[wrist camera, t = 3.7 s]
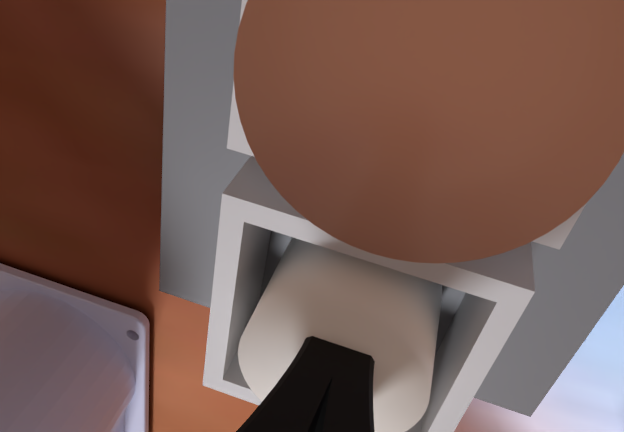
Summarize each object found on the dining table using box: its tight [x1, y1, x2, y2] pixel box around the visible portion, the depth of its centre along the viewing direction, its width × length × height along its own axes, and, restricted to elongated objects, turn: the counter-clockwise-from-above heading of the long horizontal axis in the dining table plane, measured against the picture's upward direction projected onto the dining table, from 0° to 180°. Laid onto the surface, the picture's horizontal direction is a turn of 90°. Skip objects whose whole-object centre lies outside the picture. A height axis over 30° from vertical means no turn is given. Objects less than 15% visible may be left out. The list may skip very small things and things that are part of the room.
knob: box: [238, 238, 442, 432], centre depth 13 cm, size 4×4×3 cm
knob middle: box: [233, 0, 624, 263], centre depth 7 cm, size 4×4×3 cm
